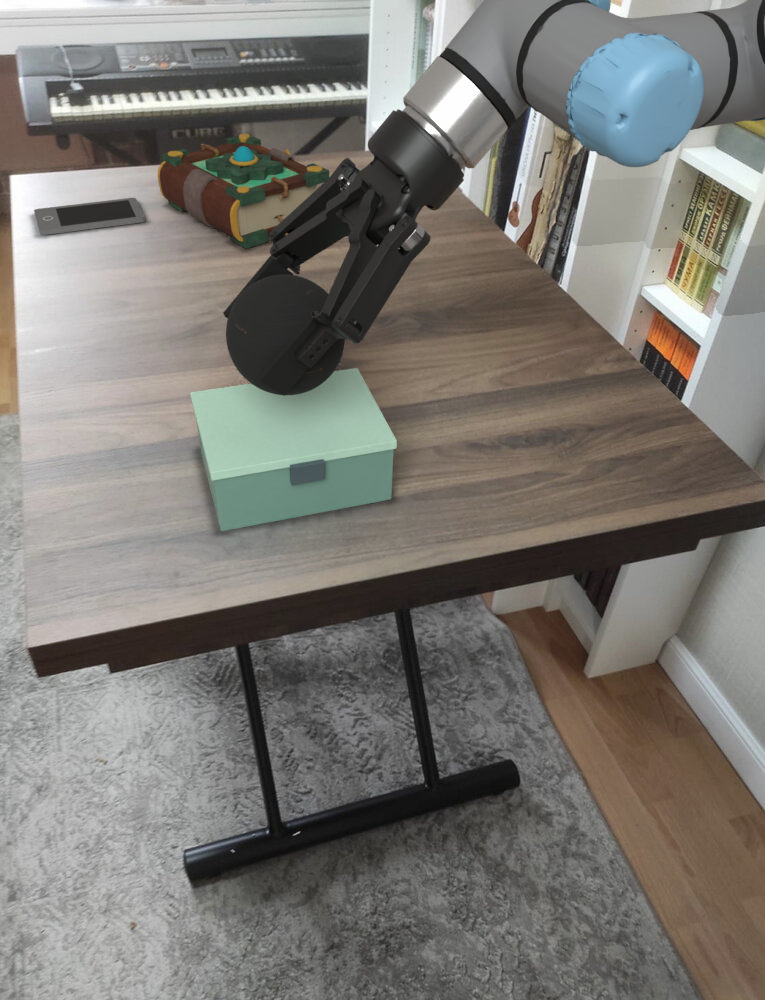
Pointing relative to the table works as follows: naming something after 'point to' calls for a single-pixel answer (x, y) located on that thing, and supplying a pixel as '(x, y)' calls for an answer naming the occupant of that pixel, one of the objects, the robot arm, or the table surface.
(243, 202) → the book
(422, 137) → the robot arm
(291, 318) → the speaker
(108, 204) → the smartphone
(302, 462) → the box
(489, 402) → the table surface
